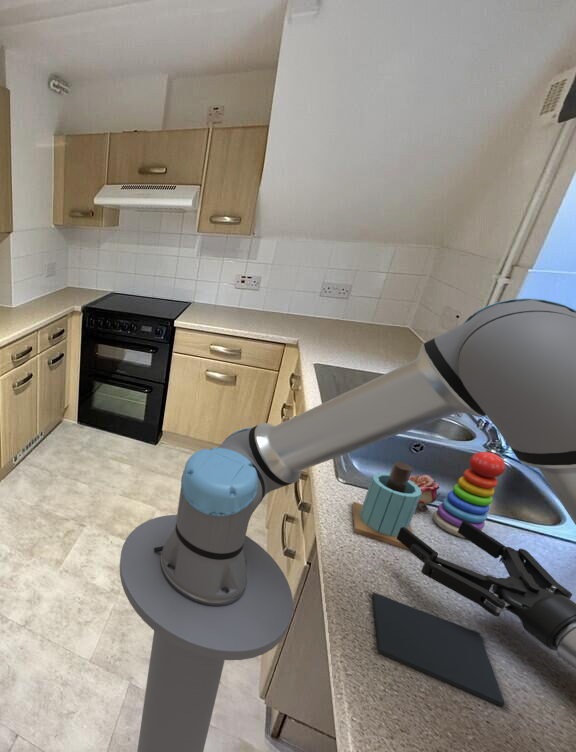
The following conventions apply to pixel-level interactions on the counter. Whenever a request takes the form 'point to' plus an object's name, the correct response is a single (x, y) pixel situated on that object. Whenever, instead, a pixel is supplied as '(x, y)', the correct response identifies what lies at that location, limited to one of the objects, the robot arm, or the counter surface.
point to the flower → (425, 489)
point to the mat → (435, 647)
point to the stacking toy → (471, 494)
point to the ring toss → (395, 483)
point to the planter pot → (389, 505)
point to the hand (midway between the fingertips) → (431, 529)
